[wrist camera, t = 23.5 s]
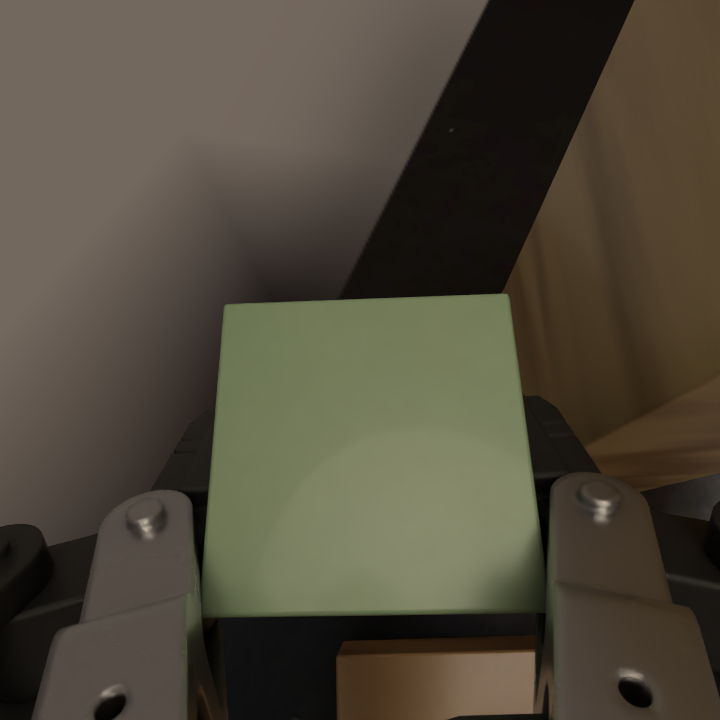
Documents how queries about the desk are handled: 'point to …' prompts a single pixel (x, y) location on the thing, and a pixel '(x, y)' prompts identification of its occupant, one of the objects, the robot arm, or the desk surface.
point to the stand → (634, 257)
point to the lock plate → (435, 678)
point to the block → (371, 462)
